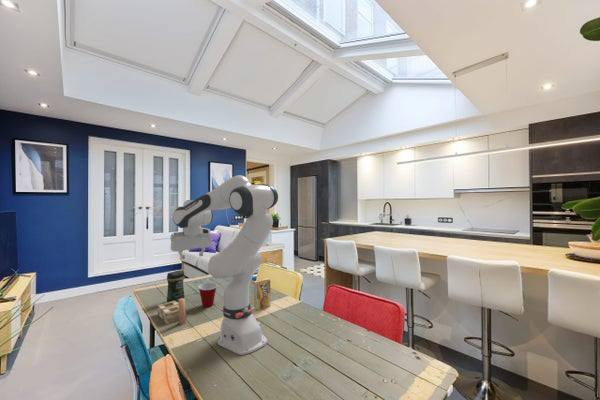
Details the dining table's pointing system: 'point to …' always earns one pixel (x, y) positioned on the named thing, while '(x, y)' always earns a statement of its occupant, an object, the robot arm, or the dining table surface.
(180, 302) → the peg
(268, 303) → the candy box
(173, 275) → the coffee jar
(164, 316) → the hole block
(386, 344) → the dining table surface
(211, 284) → the plastic cup
